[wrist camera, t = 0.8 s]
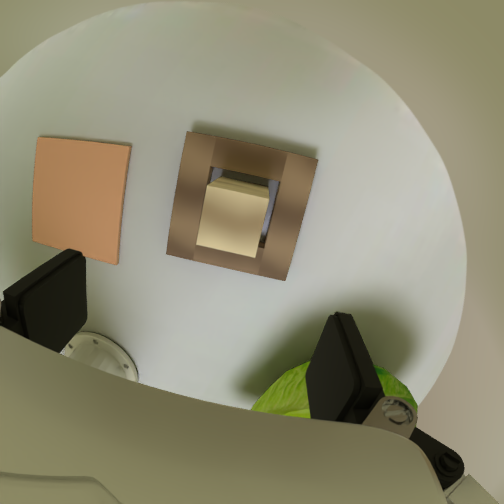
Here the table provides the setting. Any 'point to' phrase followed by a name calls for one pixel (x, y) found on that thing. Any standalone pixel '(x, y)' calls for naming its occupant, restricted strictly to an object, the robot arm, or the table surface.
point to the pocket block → (249, 162)
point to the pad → (79, 196)
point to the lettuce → (296, 399)
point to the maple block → (233, 216)
